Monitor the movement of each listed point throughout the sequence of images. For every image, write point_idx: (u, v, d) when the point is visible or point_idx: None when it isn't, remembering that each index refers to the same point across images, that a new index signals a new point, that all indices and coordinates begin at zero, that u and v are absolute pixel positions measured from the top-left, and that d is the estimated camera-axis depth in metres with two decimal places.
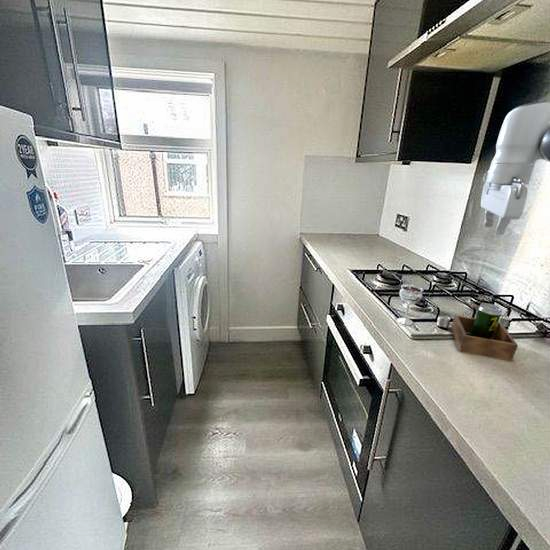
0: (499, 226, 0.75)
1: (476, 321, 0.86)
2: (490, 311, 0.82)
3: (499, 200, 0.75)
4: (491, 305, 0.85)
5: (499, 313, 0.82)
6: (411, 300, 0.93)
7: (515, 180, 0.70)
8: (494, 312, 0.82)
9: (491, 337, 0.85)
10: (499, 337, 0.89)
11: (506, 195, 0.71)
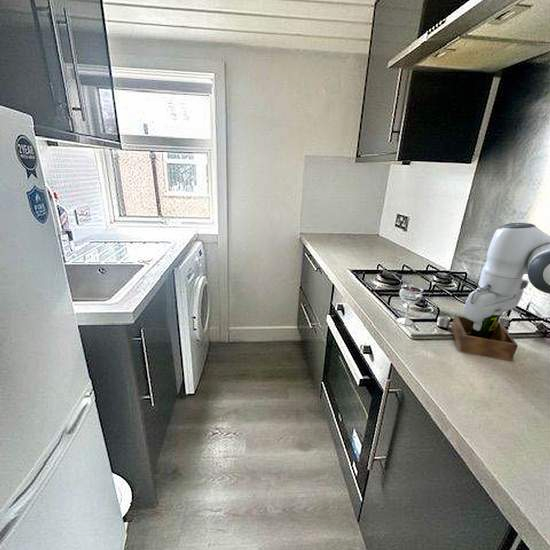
0: (474, 322, 0.84)
1: None
2: None
3: None
4: None
5: (499, 313, 0.82)
6: (411, 300, 0.93)
7: None
8: (494, 312, 0.82)
9: (491, 337, 0.85)
10: (499, 337, 0.89)
11: None
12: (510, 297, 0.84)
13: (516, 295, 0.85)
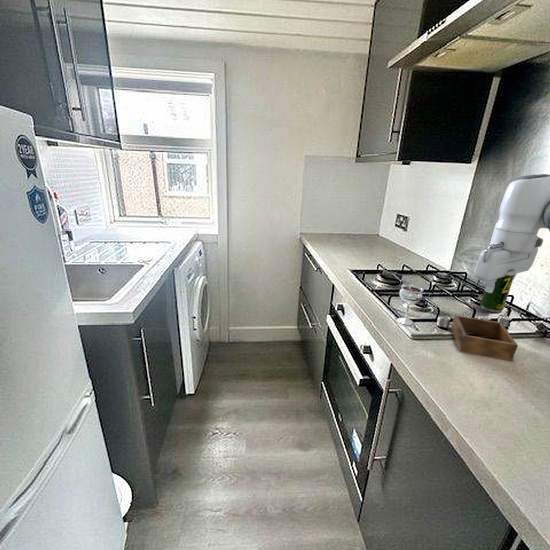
0: (487, 284, 0.80)
1: None
2: None
3: None
4: None
5: (513, 273, 0.78)
6: (411, 300, 0.93)
7: None
8: (507, 272, 0.78)
9: (504, 300, 0.81)
10: (499, 337, 0.89)
11: None
12: (524, 257, 0.80)
13: (530, 255, 0.81)
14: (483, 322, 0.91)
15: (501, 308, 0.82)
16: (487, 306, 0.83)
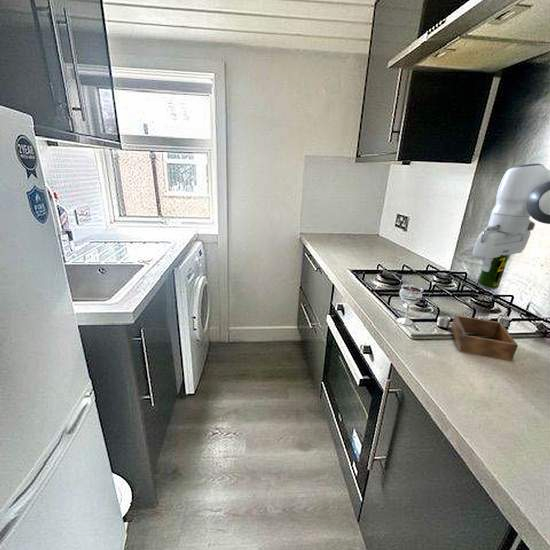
0: (484, 263, 0.89)
1: None
2: None
3: None
4: None
5: (507, 254, 0.87)
6: (411, 300, 0.93)
7: None
8: None
9: (499, 278, 0.89)
10: (499, 337, 0.89)
11: None
12: (518, 240, 0.89)
13: (523, 238, 0.89)
14: (483, 322, 0.91)
15: (496, 286, 0.90)
16: (484, 284, 0.91)
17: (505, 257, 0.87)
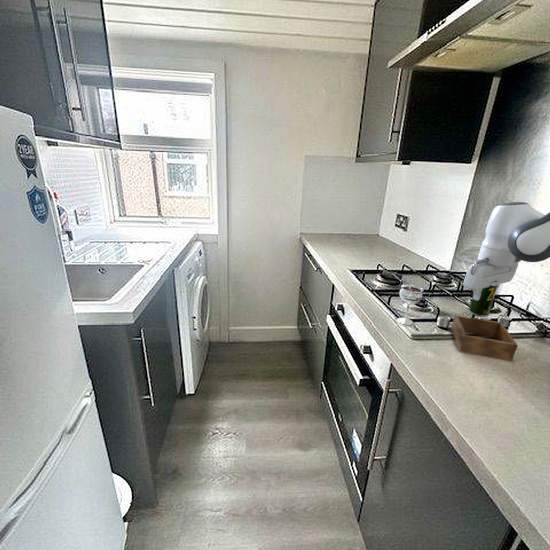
0: (474, 292, 0.94)
1: None
2: None
3: None
4: None
5: (496, 284, 0.92)
6: (411, 300, 0.93)
7: None
8: (491, 283, 0.91)
9: (489, 306, 0.94)
10: (499, 337, 0.89)
11: None
12: (506, 270, 0.93)
13: (511, 268, 0.94)
14: (483, 322, 0.91)
15: (486, 313, 0.95)
16: (474, 311, 0.96)
17: (494, 287, 0.92)
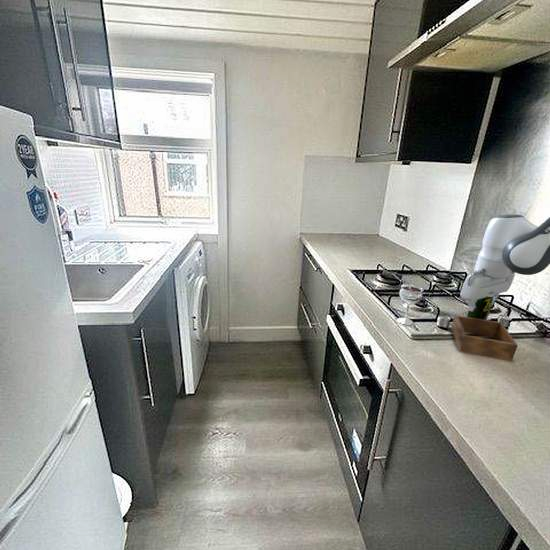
0: (468, 303, 0.94)
1: None
2: None
3: None
4: None
5: (492, 295, 0.93)
6: (411, 300, 0.93)
7: None
8: (488, 294, 0.93)
9: (485, 317, 0.96)
10: (499, 337, 0.89)
11: None
12: (503, 281, 0.95)
13: (508, 279, 0.95)
14: (483, 322, 0.91)
15: None
16: None
17: (490, 298, 0.93)
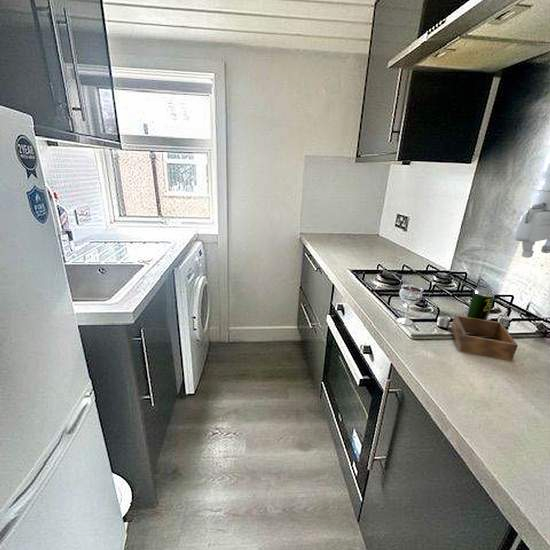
0: (524, 248, 0.79)
1: (472, 303, 0.97)
2: (484, 293, 0.93)
3: None
4: (485, 288, 0.96)
5: (492, 295, 0.93)
6: (411, 300, 0.93)
7: None
8: (488, 294, 0.93)
9: (485, 317, 0.96)
10: (499, 337, 0.89)
11: None
12: None
13: None
14: (483, 322, 0.91)
15: None
16: None
17: (490, 298, 0.93)
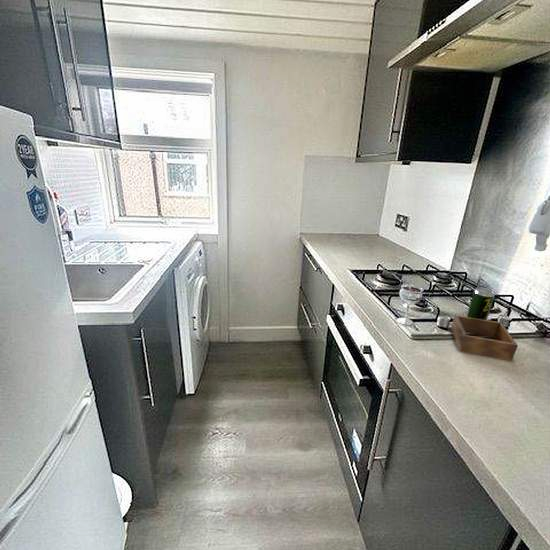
0: (537, 241, 0.76)
1: (472, 303, 0.97)
2: (484, 293, 0.93)
3: None
4: (485, 288, 0.96)
5: (492, 295, 0.93)
6: (411, 300, 0.93)
7: None
8: (488, 294, 0.93)
9: (485, 317, 0.96)
10: (499, 337, 0.89)
11: None
12: None
13: None
14: (483, 322, 0.91)
15: None
16: None
17: (490, 298, 0.93)
